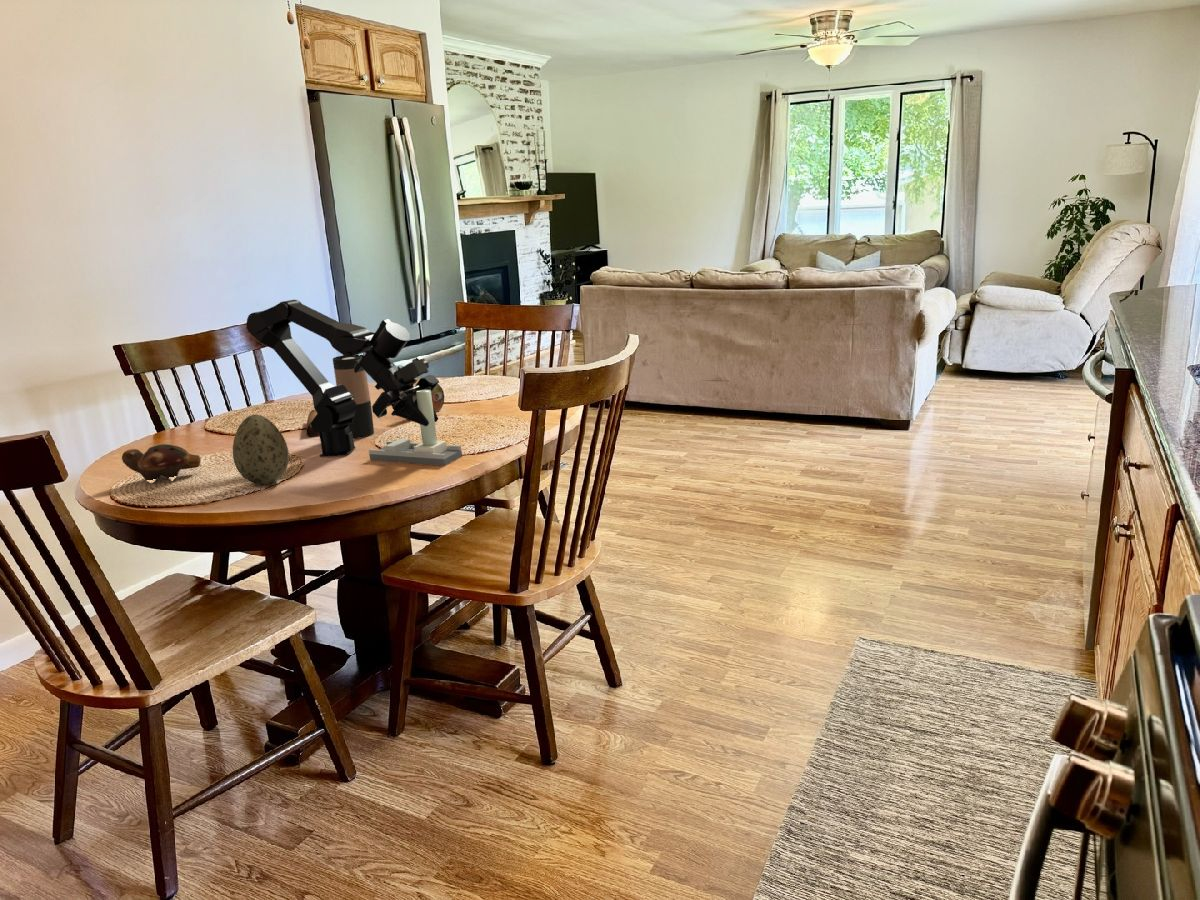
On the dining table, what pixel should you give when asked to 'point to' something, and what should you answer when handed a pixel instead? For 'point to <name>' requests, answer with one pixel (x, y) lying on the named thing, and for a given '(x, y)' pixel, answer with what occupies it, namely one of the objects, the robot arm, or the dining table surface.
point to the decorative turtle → (160, 461)
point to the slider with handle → (429, 431)
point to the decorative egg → (260, 450)
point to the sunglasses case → (309, 428)
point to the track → (414, 454)
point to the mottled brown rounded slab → (437, 398)
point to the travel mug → (355, 394)
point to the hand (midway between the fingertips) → (432, 422)
